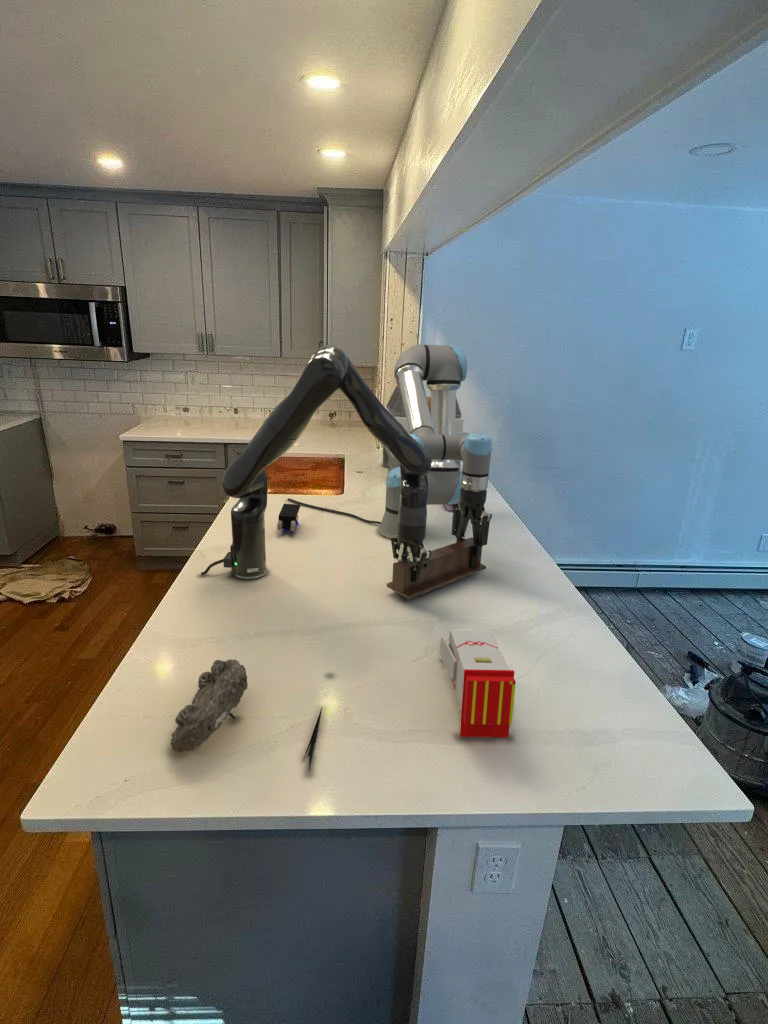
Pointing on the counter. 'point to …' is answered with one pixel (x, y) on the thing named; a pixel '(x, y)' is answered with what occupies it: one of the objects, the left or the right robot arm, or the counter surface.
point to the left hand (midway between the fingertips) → (408, 578)
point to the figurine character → (288, 518)
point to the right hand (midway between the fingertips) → (466, 561)
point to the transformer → (398, 412)
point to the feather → (313, 740)
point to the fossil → (210, 704)
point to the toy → (479, 682)
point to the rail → (436, 569)
